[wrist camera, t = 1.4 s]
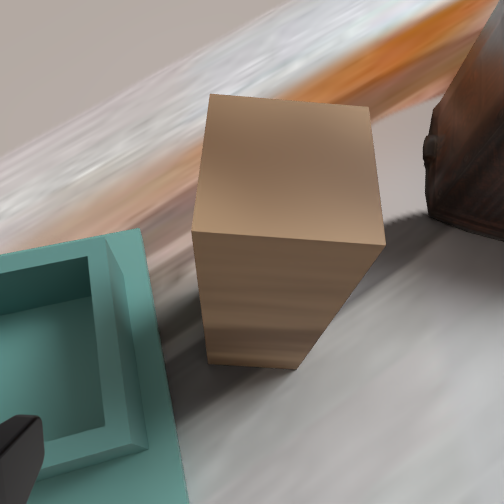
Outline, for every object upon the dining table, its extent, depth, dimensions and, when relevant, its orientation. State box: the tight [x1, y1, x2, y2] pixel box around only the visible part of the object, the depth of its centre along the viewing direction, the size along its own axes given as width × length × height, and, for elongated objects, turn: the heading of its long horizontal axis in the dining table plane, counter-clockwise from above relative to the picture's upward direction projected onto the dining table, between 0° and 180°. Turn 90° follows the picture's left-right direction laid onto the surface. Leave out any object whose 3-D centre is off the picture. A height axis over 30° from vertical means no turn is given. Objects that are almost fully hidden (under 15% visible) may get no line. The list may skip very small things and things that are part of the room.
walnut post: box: [191, 94, 386, 370], centre depth 16 cm, size 4×4×13 cm
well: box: [0, 228, 189, 504], centre depth 18 cm, size 14×11×5 cm
